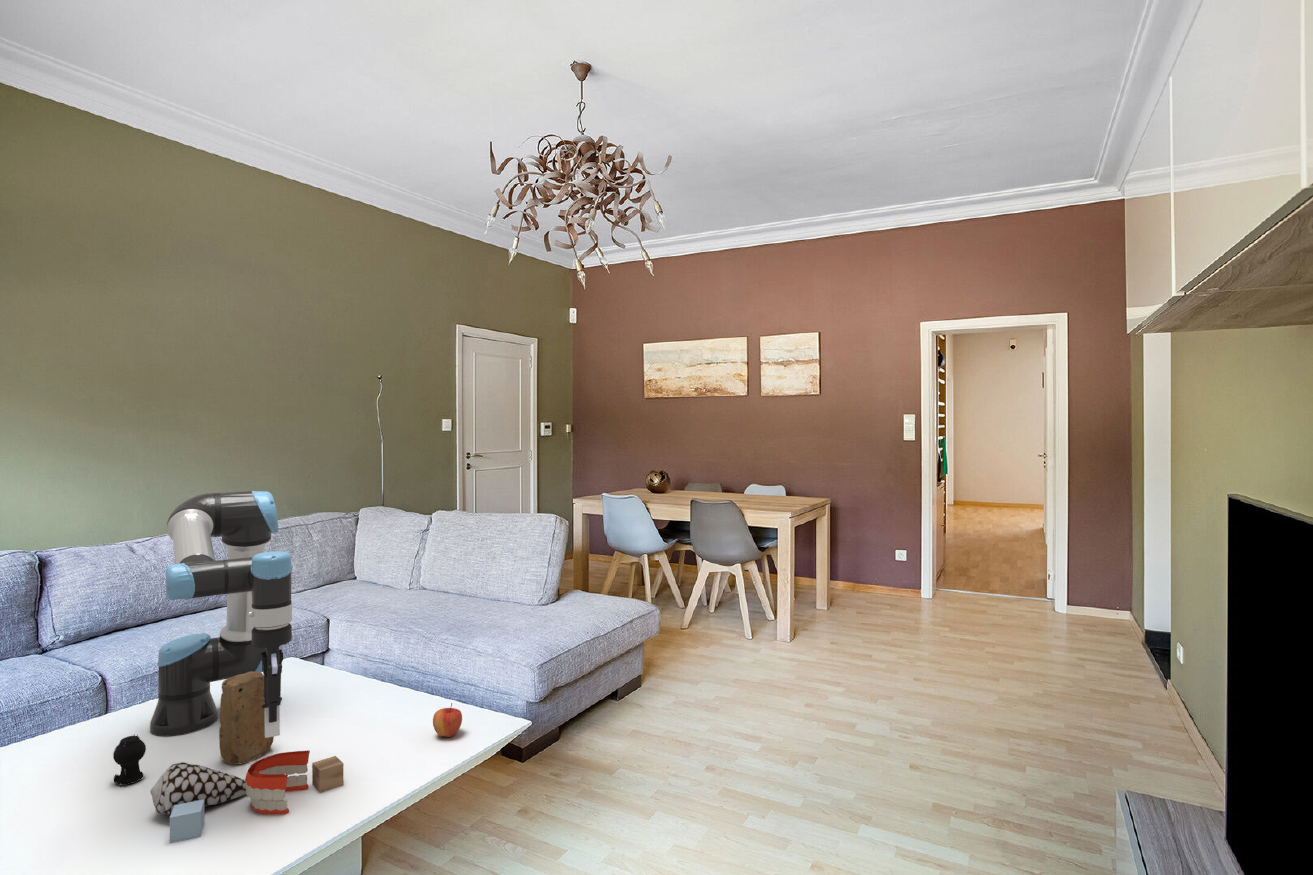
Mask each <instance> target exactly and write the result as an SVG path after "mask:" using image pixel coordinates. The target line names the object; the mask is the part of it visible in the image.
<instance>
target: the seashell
mask: <svg viewBox="0 0 1313 875" xmlns="http://www.w3.org/2000/svg"><path fill="white" fill-rule="evenodd" d="M149 791H150V796H151V800H152V803H153V806H154V808H155V813H156V814H159V815H170V816H171V813H172V810H173V808H174V805H178V804H183V803H188V802H193V801H198V800H203V799H204V807H207V806H211V805H218V804H223V803H225V802H228V801H232V800H233V799H236V798H239V797H242V796H245V795H247V794H246V782H245V779H243V778H241V777H239V776H237V775H234V774H231V773H228V772H225V771H222V770H217V769H214V768H211V767H207V766H204V765H200V764H193V763H190V762H189V763H188V762H185V761H182V762H175V763H172V764H170V766H169V767H168V768H167V769H166V770H165V771H164V772H163V773H162V774H161V776H160V777H159V778H158V780H157V781H156V782H155V783H154V785H153V786H152V787H151V789H150V790H149Z"/></svg>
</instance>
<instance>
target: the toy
mask: <svg viewBox="0 0 1313 875" xmlns="http://www.w3.org/2000/svg"><path fill="white" fill-rule="evenodd" d="M310 752H311V750H310V749H309V750H296V751H286V752H279V753H274V754H271V755H268V756H266V757H263V758H260V759H258V760H257V761H256V760H255V762H253V763H252V764H251V765H250V766H249V767H248V769H247V772H246V775H245V778H244V780H245V782H246V794H245V795H246V796H248V798H249V799H250V807H251V808H252V809H253V811H255V812H256V813H258V814H262V815H287V814H290V808H289V807H288V799H287V798H286V797H285V796H286V793H287V792H296V791H306V790H308V789H309V784H308V774H306V773H307V772H308V764H309V758H310V754H311V753H310ZM295 774H297V775H295Z"/></svg>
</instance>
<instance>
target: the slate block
mask: <svg viewBox="0 0 1313 875" xmlns="http://www.w3.org/2000/svg"><path fill="white" fill-rule="evenodd" d="M204 828H205V806H204V799H203V800H198V801H193V802H188V803H183V804H178V805H174V808H173V810H172V813H171V815H170V816H169V844H173V843H176V842H181V841H185V840H190V839H196V838H201V836H202V833H203V829H204Z"/></svg>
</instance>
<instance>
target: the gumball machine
mask: <svg viewBox="0 0 1313 875" xmlns="http://www.w3.org/2000/svg"><path fill="white" fill-rule="evenodd" d="M146 751H147V746H146V744H145V742H144V741H143V740H142V739H141V738H140V737H139V734H135V733H133V735H130V736H126V737H123V738H122V739H121V740H119V743H118V745H116V747H115V748H114V751H113V753H112V756H113V760H114V762H115V763H116V764H117V765H119V766H120V774H115V775H113V783H114V784H116V785H119V788H121V786H124V785H131V784H134V783H136V782H138V781H141V780H142V779H143V778H144V772H142V771H141V769H140V768H141V767H140V763H139V762H140V761H141V760H142V759H143V758H144V757H145V754H146Z"/></svg>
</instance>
